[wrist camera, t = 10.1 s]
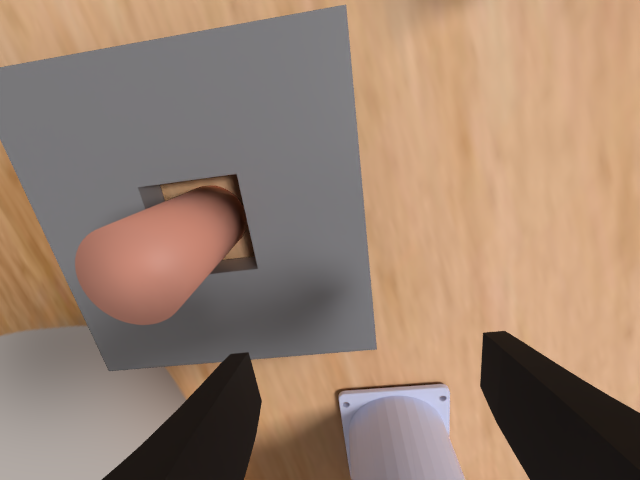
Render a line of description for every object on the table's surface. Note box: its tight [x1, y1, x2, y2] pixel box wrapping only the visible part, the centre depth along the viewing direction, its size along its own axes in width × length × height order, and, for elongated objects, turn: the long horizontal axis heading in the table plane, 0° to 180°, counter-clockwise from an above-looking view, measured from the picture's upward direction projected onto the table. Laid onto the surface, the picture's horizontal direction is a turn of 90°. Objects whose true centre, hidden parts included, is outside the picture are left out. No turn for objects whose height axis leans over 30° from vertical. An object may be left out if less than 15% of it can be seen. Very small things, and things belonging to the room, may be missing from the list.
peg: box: [75, 186, 247, 325], centre depth 15 cm, size 4×4×8 cm
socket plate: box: [0, 5, 377, 371], centre depth 17 cm, size 18×18×2 cm
